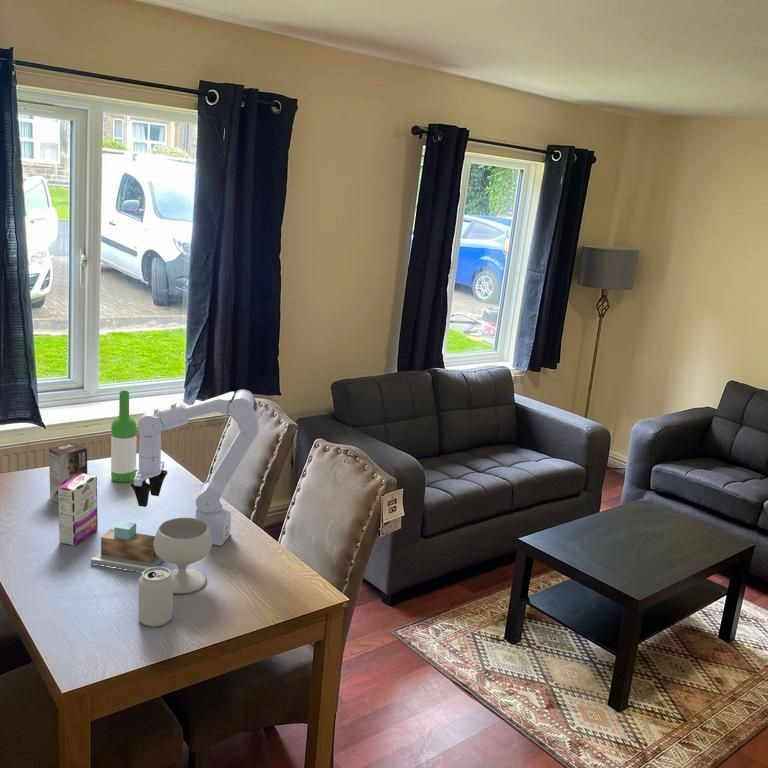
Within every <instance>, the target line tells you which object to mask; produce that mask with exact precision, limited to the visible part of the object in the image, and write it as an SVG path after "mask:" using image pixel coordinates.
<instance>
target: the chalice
mask: <svg viewBox="0 0 768 768" xmlns="http://www.w3.org/2000/svg"><path fill="white" fill-rule="evenodd" d="M154 536H155V539H154V551H155V553H156V555H157V556H158V557H159V558H160V559H162V560H163V561H162V562H165V563H168V564H172V565H174V566H176V567H177V568H175V569H169V570H170V572H171V575H172V576H173V594H175V595H177V594H179V595H180V594H189V593H193V592H197V591H199V590H201V589H202V588H204V587H205V585H206V584H207V582H208V581H207V577H206V575H205V574H204V573H202V572H201V571H199V570H196V569H192V568H188V566H190V564H195V563H198V562H200V561H201V560H203V559H204V558H206V557H207V556H208V554H209V553H210V552H211V549H212V547H213V544H212V537H211V533H210V530H209V528H208V526H207V525H206V524H205V523H204V522H203V521H201V520H198V519H196V518H191V517H177V518H172V519H168V520H166V521H164V522H162V523H161V525H160V526H159V527H158V529H157V531H156V533H155V535H154Z"/></svg>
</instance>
